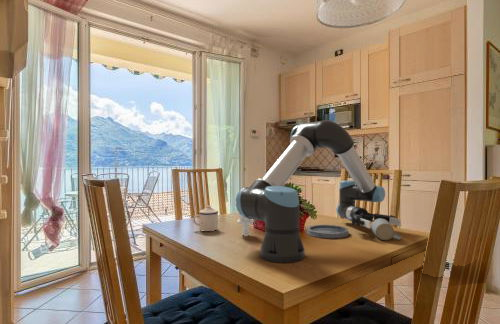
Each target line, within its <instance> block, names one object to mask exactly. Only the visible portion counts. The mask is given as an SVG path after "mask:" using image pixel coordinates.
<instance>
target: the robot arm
mask: <svg viewBox="0 0 500 324" xmlns="http://www.w3.org/2000/svg"><path fill="white" fill-rule="evenodd" d="M289 139H290V140H289V143H290V144H289V145H288V147H286V149H285V150H284V151H283V153H282V154H281V155H280V156H279V157H278V158H277V160H275V162H274V163H273V164H272V166H270V168H269V170H268V171H267V172H266V173H265V174H264V175H263V177H261V178H256V179H255V180H254V181H253V183H252V184H251V185H250V186H249V187H248V186H247V187H246V186H245V187H242V188H241V189H240V190H238V193H237V194H236V197H235V207H236V210H237V212H238V214H239V213H240V214H241V215H242V216H243V217H246V218H248V219H253V220H256V221H259V222H264V231H265V232H264V236H263V240H262V242H261V245H260V251H259V252H260V257H261V258H262V259H263V260H265V261H269V262H273V263H282V264H283V263H285V264H286V263H293V262H294V263H295V262H300V261H302V260H304V259H305V257H306V251H305V247H304V243H303V241H302V238H301V237H302V236H301V235H300V199H299V191H297V190H296V189H295V188H292V187H289V186H285V185H286V184H287V183H288V181H289V180H290V178H291V177H292V176H293V174H294V173H295V171H296V170H297V169H298V168H299V166H300V165H301V164H302V162H303V161H304V160H305V158H306V157H311V156H312V155H313V154H314V153H315V151H316V150H317V149H330V150H331V152H332V153H333V154H334V155H337V156H338V158H339V160H340V162H341V163H342V165H343V166H344V167H345V170H346V171H347V173H348V174H349V176H350V178H351V179H352V180H341V181H340V182H339V204H338V205H337V206H336V213H337V215H338V216H339V217H340V218H342V219H344V220H348V221H351V224H352V225H356V227H361V226H362V227H365V228H367V229H372V223H373V222H374V221H375V220H376V219H379V218H382V219H385V220H387V221H388V222H389V223H390V224H391V225H393V226H397V227H402V219H400V218H396V216H394V215H393V214H391V215H389V214H388V215H387V214H381V213H376V212H375V213H371V212H368V210H367V209H366V208H364V207H360V206H357V205H356V201H360V202H370V203H382V202H383V201H384V200H385V198H386V191H385V188H384V187H383V186H380V185H376V184H375V182H374V181H373V179H372V177H371V175H370V173H369V171H368V170H367V168H366V166H365V164H364V162H363V161H362V159H361V157H360V155H359V153H358V152H357V150H356V148H355V147H354V145H355V141H354V140H353V138H352V136H351V135H350V133H349V132H348V131H347V130H346V129H345V128H344V127H343V126H342V125H340V124H339V123H337V122H336V121H332V120H328V119H324V120H318V121H311V122H301V123H299V124H297V125H295V126H294V127H293V128H292V129H291V132H290V136H289Z"/></svg>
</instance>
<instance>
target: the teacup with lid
mask: <svg viewBox="0 0 500 324" xmlns="http://www.w3.org/2000/svg"><path fill="white" fill-rule="evenodd" d="M197 217H199V223H197V222H196V218H197ZM192 221H193V223H194V225H196V226H199V230H204V231H213V230H217V229H218V230H219V211H218V210H217V209H215V208H213V207H212V206H211V205H206V207H205V208H203V209H201V210H199V213H198V214H196V215H194V216H193V218H192ZM218 230H217V231H218Z"/></svg>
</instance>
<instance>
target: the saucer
mask: <svg viewBox="0 0 500 324" xmlns="http://www.w3.org/2000/svg"><path fill="white" fill-rule="evenodd" d="M306 234H307V235H308V236H310V237H314V238H318V239H319V238H320V239H333V240H335V239H343V238H347V237H348V236H349V234H350V233H349V229H348V228H347V227H344V226H341V225H335V224H314V225H309V226H308V227H306Z"/></svg>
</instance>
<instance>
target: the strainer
mask: <svg viewBox="0 0 500 324" xmlns="http://www.w3.org/2000/svg"><path fill="white" fill-rule="evenodd" d="M236 221H237V224H238V225H241V235H244V236H243V237H249V236H250V225H251V224H254V219H248V218H246V217H243V216H242V215H241V214H240V213H239V212H238V219H237V220H236ZM248 235H249V236H248Z"/></svg>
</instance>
